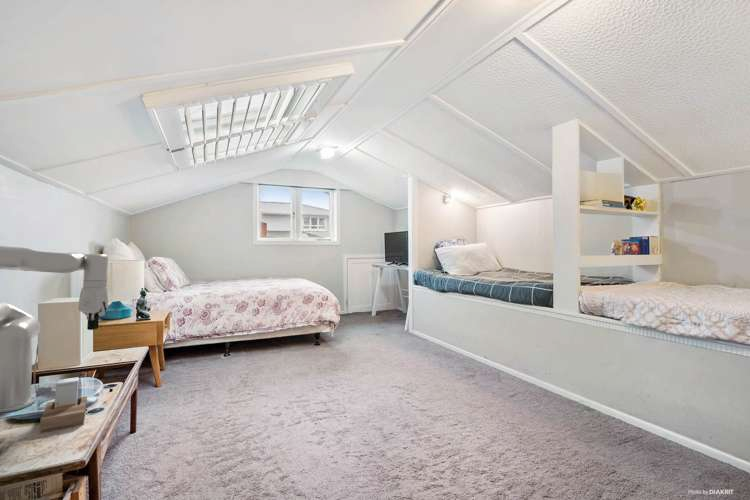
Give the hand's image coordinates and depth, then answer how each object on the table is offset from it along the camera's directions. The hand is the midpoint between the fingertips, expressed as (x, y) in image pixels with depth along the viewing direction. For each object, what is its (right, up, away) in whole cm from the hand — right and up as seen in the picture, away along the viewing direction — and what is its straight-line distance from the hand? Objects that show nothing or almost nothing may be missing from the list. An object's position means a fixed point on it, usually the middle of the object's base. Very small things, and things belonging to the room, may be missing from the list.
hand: (92, 329), depth 142 cm
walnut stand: (+6, -28, -19) cm, 34 cm away
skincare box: (+4, -27, -17) cm, 32 cm away
